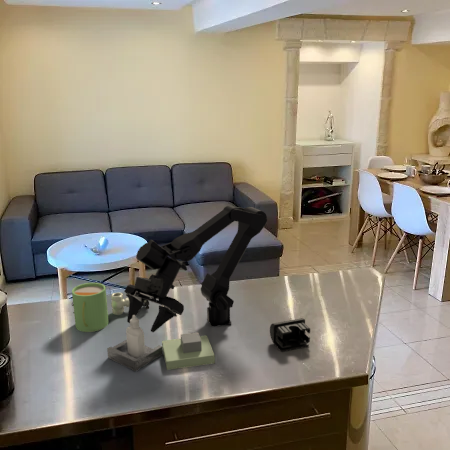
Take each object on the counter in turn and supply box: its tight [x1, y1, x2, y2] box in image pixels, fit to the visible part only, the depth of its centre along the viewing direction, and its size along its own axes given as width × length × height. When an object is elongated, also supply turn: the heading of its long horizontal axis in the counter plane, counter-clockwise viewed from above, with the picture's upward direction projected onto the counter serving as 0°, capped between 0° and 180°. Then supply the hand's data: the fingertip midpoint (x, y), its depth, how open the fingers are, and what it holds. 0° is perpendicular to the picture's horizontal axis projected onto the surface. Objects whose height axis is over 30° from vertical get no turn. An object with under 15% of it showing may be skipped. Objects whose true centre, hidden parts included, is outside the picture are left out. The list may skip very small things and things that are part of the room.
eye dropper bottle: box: [125, 315, 146, 358], centre depth 135 cm, size 4×6×12 cm
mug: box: [71, 282, 109, 333], centre depth 152 cm, size 13×10×12 cm
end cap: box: [269, 317, 311, 353], centre depth 141 cm, size 10×7×7 cm
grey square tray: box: [106, 339, 164, 372], centre depth 136 cm, size 10×11×3 cm
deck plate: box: [161, 332, 216, 371], centre depth 136 cm, size 13×11×6 cm
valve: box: [110, 291, 150, 316], centre depth 162 cm, size 7×7×12 cm
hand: (139, 327), depth 135 cm, fingers open, 9 cm apart
